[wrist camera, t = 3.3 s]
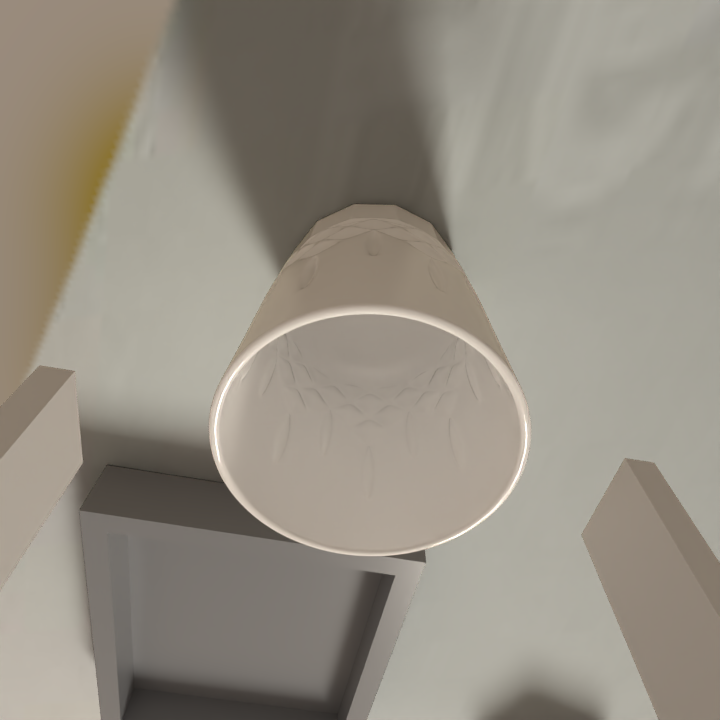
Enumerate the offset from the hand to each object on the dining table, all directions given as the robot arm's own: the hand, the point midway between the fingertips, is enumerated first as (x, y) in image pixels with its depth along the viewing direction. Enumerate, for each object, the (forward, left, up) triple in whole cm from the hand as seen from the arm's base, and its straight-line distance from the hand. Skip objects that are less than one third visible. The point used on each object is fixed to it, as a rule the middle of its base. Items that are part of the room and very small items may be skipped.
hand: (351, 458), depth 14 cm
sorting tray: (+22, -3, -10) cm, 24 cm away
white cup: (0, 0, -10) cm, 10 cm away
